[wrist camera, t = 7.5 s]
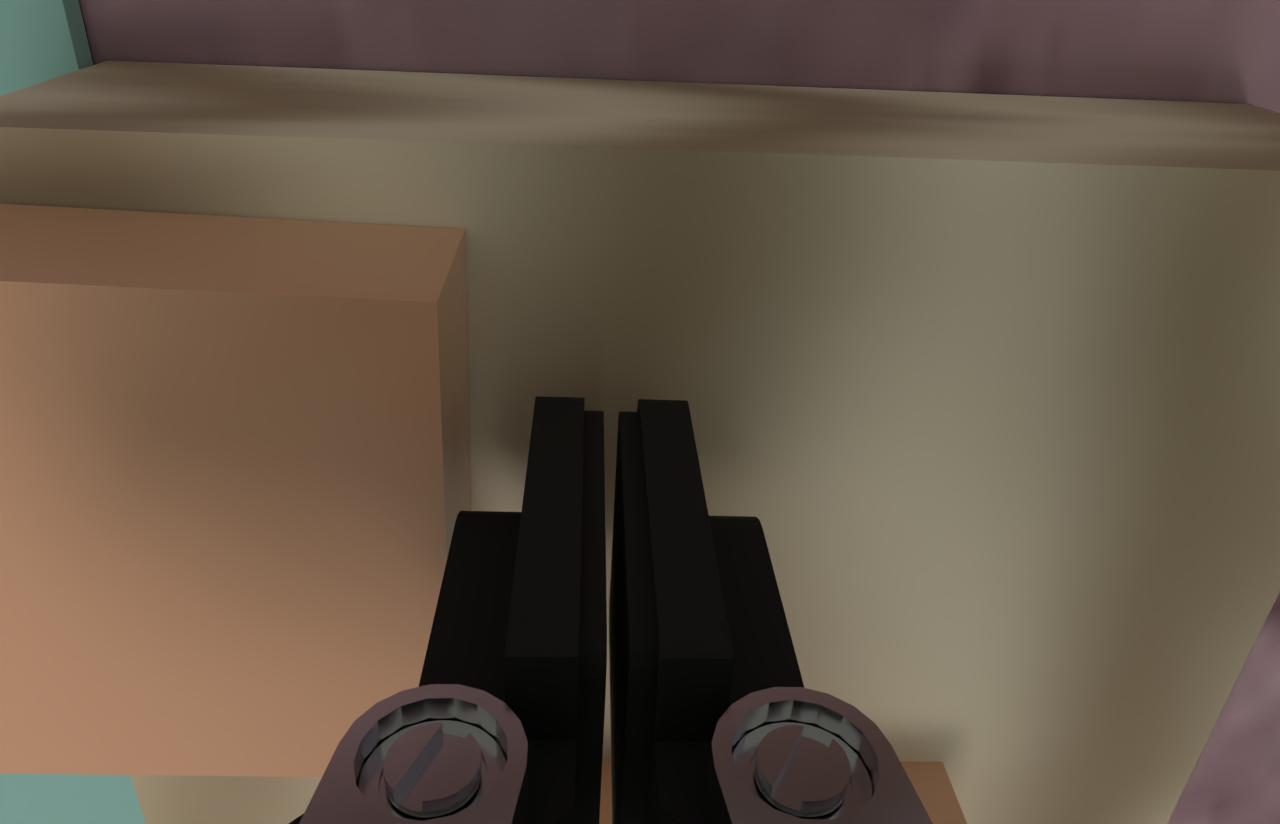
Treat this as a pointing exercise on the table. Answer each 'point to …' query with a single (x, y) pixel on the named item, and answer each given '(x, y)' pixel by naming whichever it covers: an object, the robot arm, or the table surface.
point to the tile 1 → (220, 483)
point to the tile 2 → (923, 775)
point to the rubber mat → (3, 63)
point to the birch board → (824, 365)
